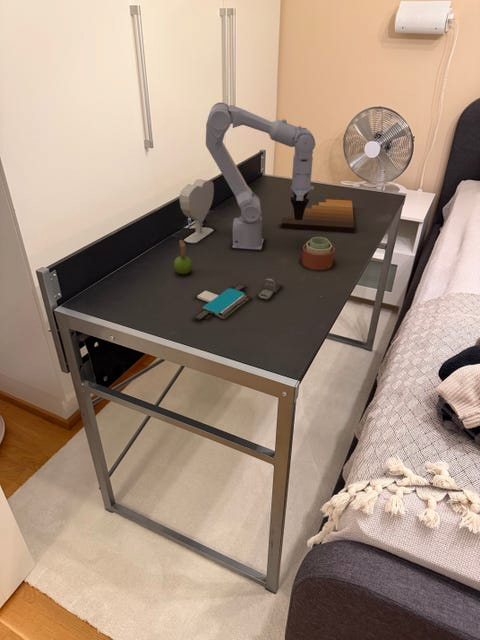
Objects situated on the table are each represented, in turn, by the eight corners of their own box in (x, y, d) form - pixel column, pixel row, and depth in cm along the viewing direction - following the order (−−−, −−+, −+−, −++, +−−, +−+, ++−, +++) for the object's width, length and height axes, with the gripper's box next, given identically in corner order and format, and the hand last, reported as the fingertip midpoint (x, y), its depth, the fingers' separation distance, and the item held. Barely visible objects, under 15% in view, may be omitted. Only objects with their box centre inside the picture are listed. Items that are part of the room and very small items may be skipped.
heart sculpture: (204, 225, 169) (202, 175, 159) (216, 228, 167) (215, 177, 157) (180, 241, 158) (176, 189, 148) (193, 244, 156) (190, 191, 146)
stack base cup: (301, 269, 142) (302, 254, 140) (302, 254, 150) (303, 240, 147) (333, 271, 141) (335, 256, 138) (332, 256, 149) (334, 242, 146)
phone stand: (222, 280, 136) (222, 275, 135) (257, 292, 131) (257, 287, 130) (177, 311, 122) (177, 306, 122) (214, 326, 117) (214, 321, 116)
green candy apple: (176, 280, 136) (173, 242, 130) (173, 270, 142) (170, 232, 135) (195, 277, 138) (193, 239, 131) (191, 267, 143) (188, 230, 136)
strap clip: (267, 301, 127) (268, 287, 125) (257, 298, 128) (257, 284, 126) (281, 287, 133) (281, 274, 131) (271, 284, 135) (272, 271, 132)
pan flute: (281, 228, 168) (353, 233, 164) (282, 219, 166) (354, 224, 162) (286, 203, 188) (350, 207, 185) (287, 195, 186) (351, 199, 183)
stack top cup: (304, 267, 143) (306, 249, 140) (305, 256, 149) (306, 238, 146) (329, 269, 142) (332, 250, 139) (329, 258, 148) (331, 239, 145)
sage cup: (308, 265, 144) (310, 244, 140) (308, 257, 148) (310, 236, 144) (326, 266, 143) (329, 245, 139) (326, 258, 147) (328, 237, 144)
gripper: (315, 180, 137) (311, 224, 144) (315, 165, 148) (311, 207, 156) (290, 179, 137) (288, 223, 145) (293, 164, 149) (290, 206, 157)
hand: (298, 215), depth 151 cm, fingers open, 7 cm apart
